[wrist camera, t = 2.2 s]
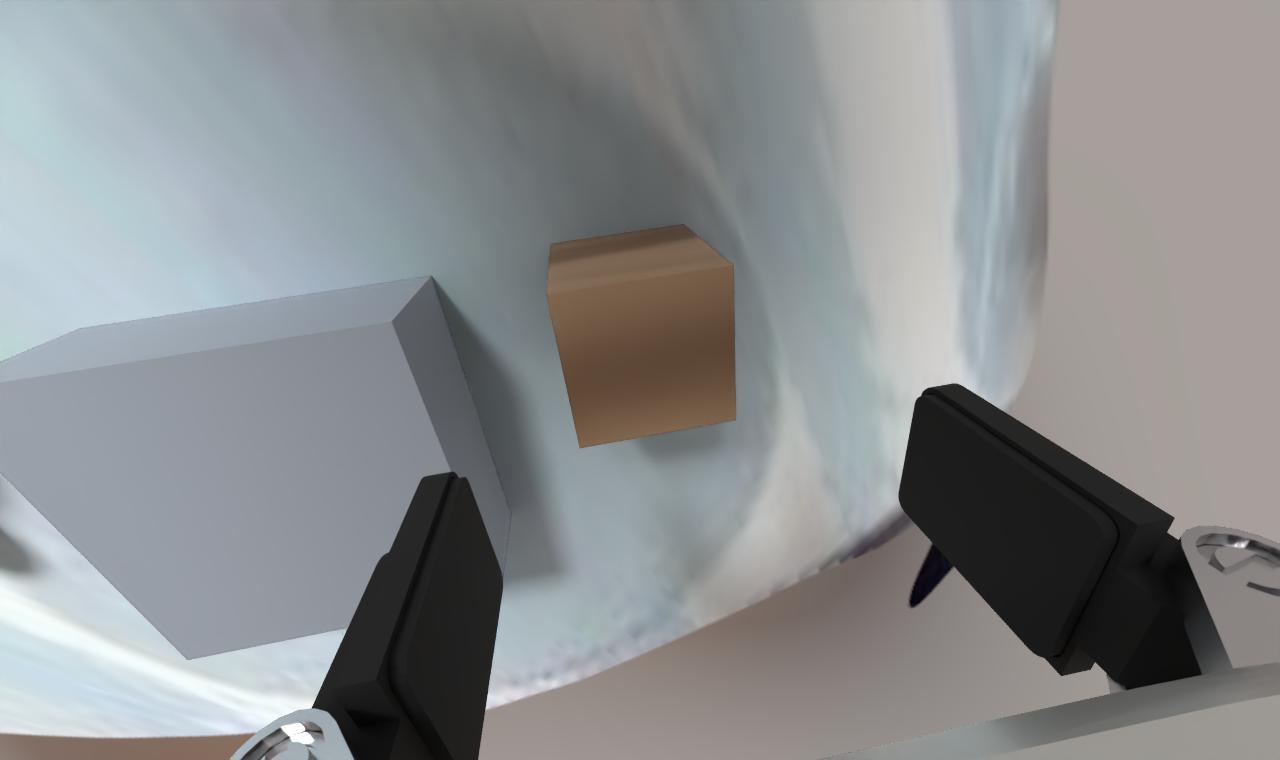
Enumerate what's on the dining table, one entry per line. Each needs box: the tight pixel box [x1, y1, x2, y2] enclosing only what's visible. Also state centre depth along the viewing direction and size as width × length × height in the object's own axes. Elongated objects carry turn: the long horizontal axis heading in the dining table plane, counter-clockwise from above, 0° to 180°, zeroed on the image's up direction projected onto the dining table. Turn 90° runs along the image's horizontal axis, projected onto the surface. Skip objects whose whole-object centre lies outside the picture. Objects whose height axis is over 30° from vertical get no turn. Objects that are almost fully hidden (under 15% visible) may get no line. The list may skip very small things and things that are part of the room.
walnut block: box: [546, 224, 736, 448], centre depth 16 cm, size 5×5×6 cm
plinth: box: [0, 276, 511, 660], centre depth 18 cm, size 12×12×5 cm
